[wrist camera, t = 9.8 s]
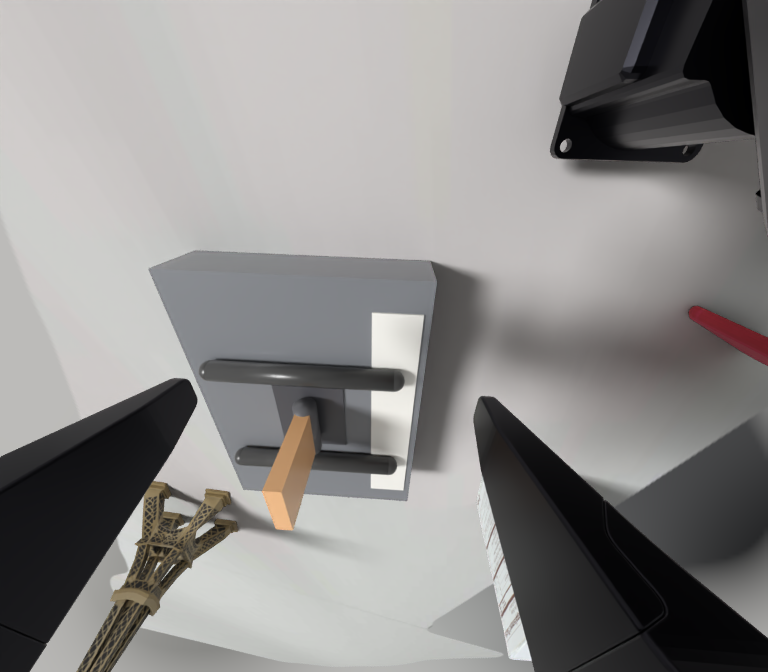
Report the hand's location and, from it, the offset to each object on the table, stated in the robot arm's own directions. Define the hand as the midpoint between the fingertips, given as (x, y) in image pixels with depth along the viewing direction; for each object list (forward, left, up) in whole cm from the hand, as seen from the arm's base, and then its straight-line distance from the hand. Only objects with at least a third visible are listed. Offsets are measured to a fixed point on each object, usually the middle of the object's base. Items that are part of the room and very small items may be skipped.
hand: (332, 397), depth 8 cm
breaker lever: (+4, +10, -8) cm, 13 cm away
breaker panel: (+4, +10, -12) cm, 16 cm away
